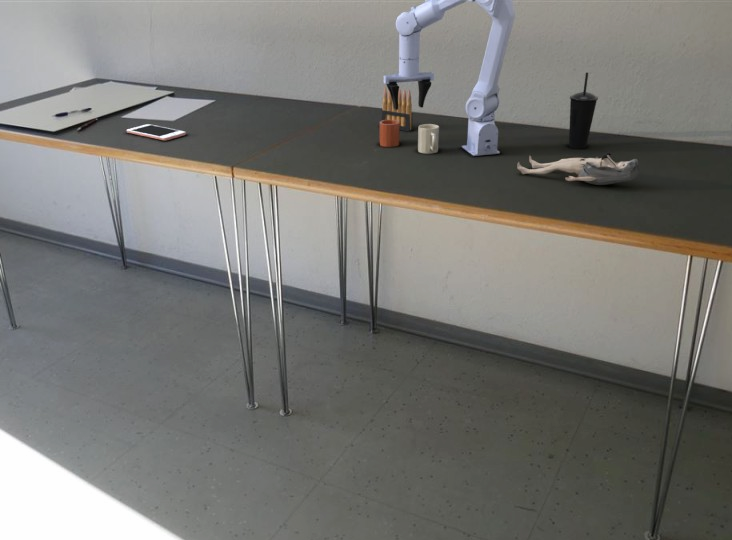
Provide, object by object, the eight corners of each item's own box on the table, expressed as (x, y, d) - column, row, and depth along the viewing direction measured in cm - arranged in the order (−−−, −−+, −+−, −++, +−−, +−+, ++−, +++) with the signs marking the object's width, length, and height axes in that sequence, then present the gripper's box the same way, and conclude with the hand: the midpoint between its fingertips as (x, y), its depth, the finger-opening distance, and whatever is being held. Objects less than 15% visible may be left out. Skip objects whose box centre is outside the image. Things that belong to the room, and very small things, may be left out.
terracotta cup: (401, 146, 233) (401, 123, 230) (382, 147, 232) (382, 125, 229) (393, 139, 240) (393, 117, 237) (375, 140, 239) (375, 118, 235)
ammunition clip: (412, 130, 249) (413, 89, 242) (409, 131, 247) (410, 90, 241) (384, 125, 254) (384, 85, 248) (381, 126, 253) (381, 86, 247)
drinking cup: (592, 150, 226) (602, 75, 215) (564, 149, 227) (573, 75, 217) (590, 143, 232) (600, 70, 222) (563, 142, 234) (572, 69, 223)
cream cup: (415, 149, 230) (415, 124, 227) (434, 147, 232) (435, 123, 228) (424, 156, 224) (425, 131, 220) (443, 154, 225) (444, 130, 222)
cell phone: (164, 141, 242) (164, 138, 242) (126, 132, 252) (125, 129, 251) (186, 134, 248) (186, 131, 248) (148, 126, 258) (147, 123, 257)
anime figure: (531, 148, 212) (646, 149, 195) (532, 176, 216) (644, 180, 198) (515, 157, 206) (631, 159, 188) (516, 185, 209) (631, 190, 192)
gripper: (428, 54, 232) (427, 102, 239) (380, 57, 228) (380, 106, 236) (437, 58, 226) (435, 108, 233) (387, 61, 223) (387, 112, 230)
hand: (408, 107), depth 234 cm, fingers open, 7 cm apart
